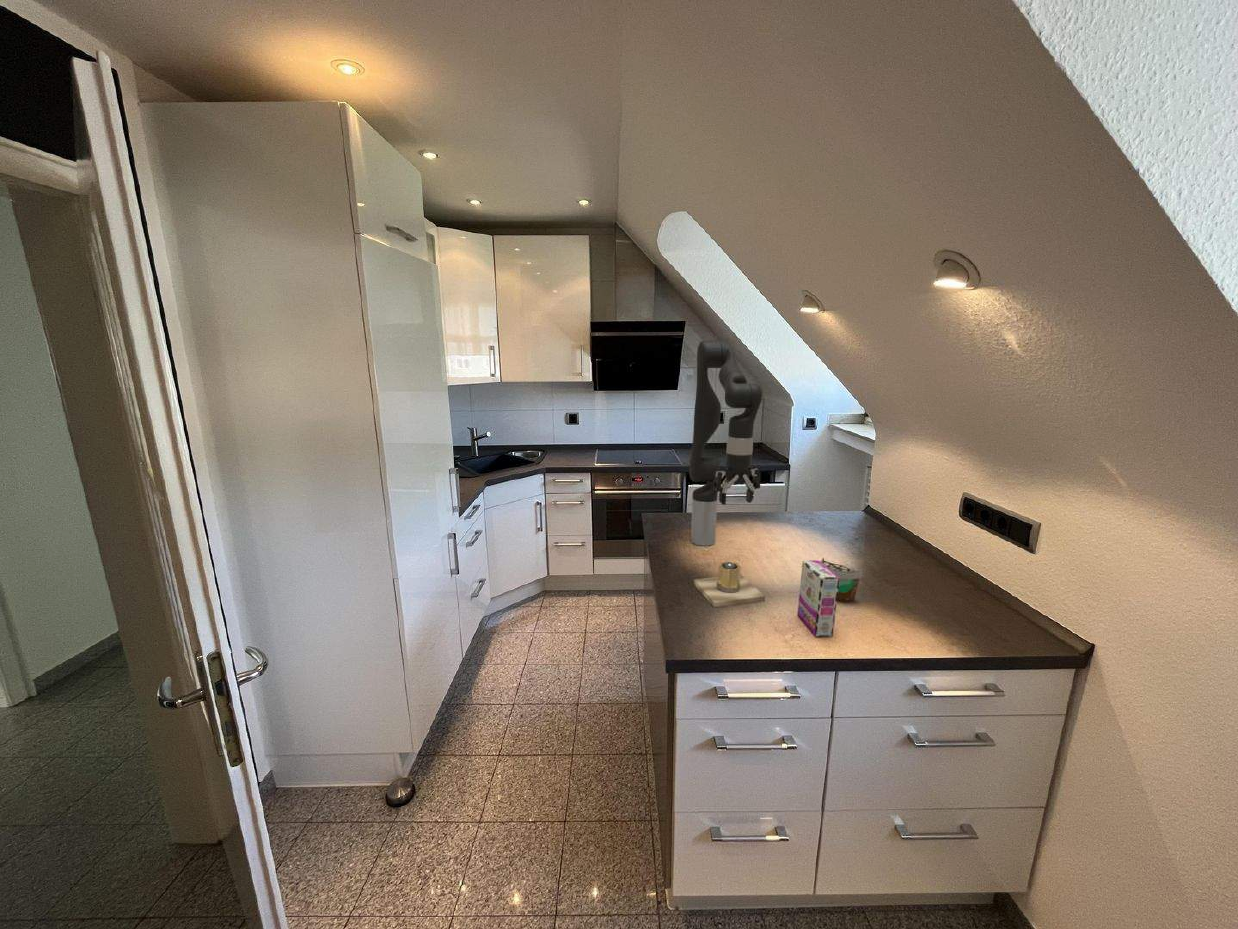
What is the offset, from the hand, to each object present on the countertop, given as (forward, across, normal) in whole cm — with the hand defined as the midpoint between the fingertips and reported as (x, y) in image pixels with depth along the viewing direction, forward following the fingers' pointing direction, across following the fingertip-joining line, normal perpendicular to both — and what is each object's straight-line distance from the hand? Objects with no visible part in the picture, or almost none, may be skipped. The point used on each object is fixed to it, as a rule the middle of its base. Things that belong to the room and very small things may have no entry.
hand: (735, 502), depth 148 cm
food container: (+26, -25, +17) cm, 40 cm away
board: (+26, +4, +7) cm, 27 cm away
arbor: (+24, +4, +7) cm, 26 cm away
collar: (+23, +4, +7) cm, 25 cm away
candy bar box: (+26, -10, +29) cm, 40 cm away
